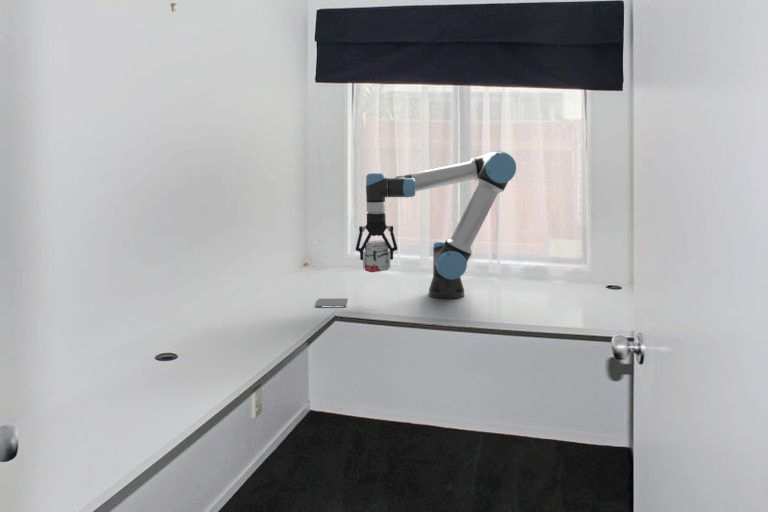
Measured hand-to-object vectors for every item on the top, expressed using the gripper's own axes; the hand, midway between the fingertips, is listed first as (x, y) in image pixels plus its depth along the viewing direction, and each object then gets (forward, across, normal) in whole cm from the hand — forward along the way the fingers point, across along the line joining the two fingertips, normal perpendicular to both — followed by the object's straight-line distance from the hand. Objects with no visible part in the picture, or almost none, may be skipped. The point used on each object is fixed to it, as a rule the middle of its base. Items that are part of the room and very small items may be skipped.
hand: (376, 267), depth 247 cm
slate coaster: (+14, +18, +1) cm, 23 cm away
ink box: (+1, 0, 0) cm, 1 cm away
